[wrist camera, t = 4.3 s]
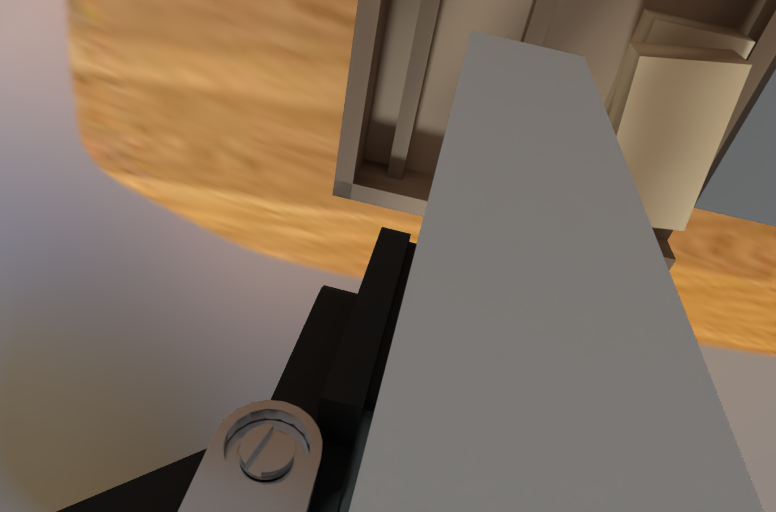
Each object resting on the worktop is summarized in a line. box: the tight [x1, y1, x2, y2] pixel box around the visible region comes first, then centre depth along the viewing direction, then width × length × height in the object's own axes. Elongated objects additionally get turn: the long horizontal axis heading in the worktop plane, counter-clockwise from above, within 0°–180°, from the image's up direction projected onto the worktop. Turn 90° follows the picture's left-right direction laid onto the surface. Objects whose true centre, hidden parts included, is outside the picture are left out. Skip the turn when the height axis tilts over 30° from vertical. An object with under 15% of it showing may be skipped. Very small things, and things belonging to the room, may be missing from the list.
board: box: [349, 30, 764, 512], centre depth 9 cm, size 2×8×12 cm, turn 169°
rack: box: [333, 0, 776, 270], centre depth 22 cm, size 15×12×4 cm
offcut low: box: [604, 8, 755, 117], centre depth 22 cm, size 4×7×2 cm, turn 170°
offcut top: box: [609, 42, 752, 231], centre depth 21 cm, size 4×6×2 cm, turn 178°
